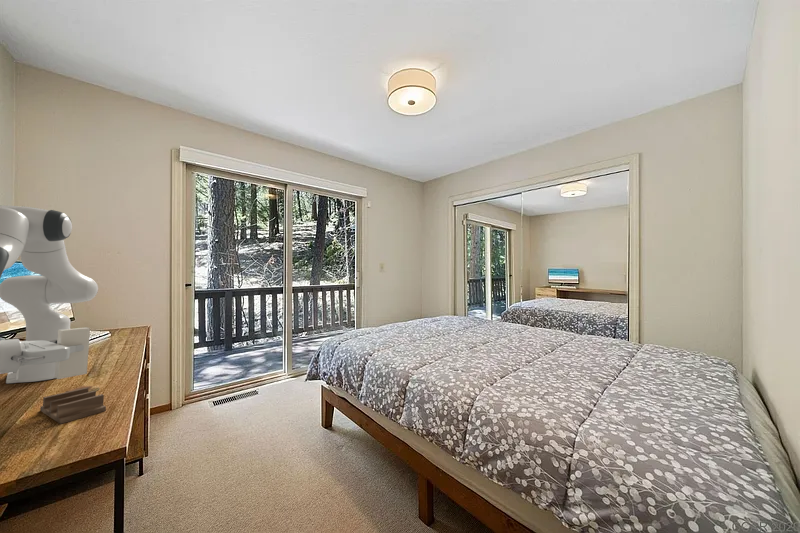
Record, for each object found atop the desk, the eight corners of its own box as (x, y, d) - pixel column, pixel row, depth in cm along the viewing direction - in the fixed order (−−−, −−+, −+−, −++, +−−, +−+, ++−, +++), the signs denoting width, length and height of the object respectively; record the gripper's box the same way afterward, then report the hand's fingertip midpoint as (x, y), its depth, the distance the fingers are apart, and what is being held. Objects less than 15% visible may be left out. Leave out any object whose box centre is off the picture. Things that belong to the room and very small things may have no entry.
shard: (64, 404, 92) (64, 398, 92) (40, 404, 92) (40, 398, 92) (100, 391, 102) (101, 385, 102) (79, 390, 103) (79, 385, 103)
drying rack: (40, 410, 86) (41, 396, 86) (83, 399, 94) (84, 386, 94) (60, 423, 79) (61, 407, 79) (105, 410, 87) (106, 396, 87)
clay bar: (54, 377, 88) (58, 329, 88) (82, 372, 93) (86, 327, 94) (58, 379, 86) (61, 330, 87) (86, 373, 92) (90, 328, 92)
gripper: (19, 348, 75) (94, 339, 87) (-3, 340, 84) (68, 333, 96) (17, 374, 74) (93, 361, 87) (-5, 363, 84) (67, 353, 96)
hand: (80, 346), depth 91 cm, fingers closed on clay bar, 3 cm apart
